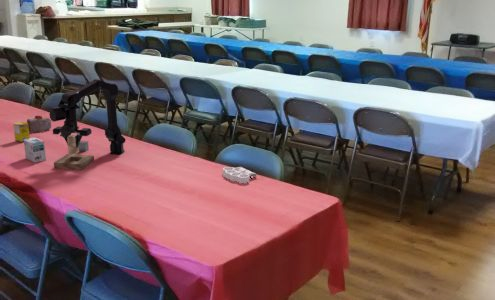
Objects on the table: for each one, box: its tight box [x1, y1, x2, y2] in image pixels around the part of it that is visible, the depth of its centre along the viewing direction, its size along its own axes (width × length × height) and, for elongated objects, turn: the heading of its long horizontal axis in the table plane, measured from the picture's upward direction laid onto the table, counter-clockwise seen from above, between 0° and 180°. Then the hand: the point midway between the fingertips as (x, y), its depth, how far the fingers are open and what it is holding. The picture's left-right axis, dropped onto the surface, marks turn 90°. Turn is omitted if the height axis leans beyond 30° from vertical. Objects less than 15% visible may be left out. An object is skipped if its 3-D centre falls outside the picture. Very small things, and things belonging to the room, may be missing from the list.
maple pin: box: [67, 134, 80, 155], centre depth 274 cm, size 4×4×9 cm
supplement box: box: [13, 121, 31, 144], centre depth 314 cm, size 6×6×11 cm
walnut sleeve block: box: [53, 153, 95, 171], centre depth 277 cm, size 15×15×3 cm
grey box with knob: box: [26, 115, 52, 134], centre depth 337 cm, size 14×8×10 cm, turn 132°
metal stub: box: [79, 140, 89, 153], centre depth 300 cm, size 4×4×5 cm
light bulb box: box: [23, 137, 47, 163], centre depth 282 cm, size 11×7×11 cm, turn 47°
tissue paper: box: [222, 166, 258, 184], centre depth 264 cm, size 3×18×15 cm
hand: (73, 147), depth 274 cm, fingers closed on maple pin, 4 cm apart
